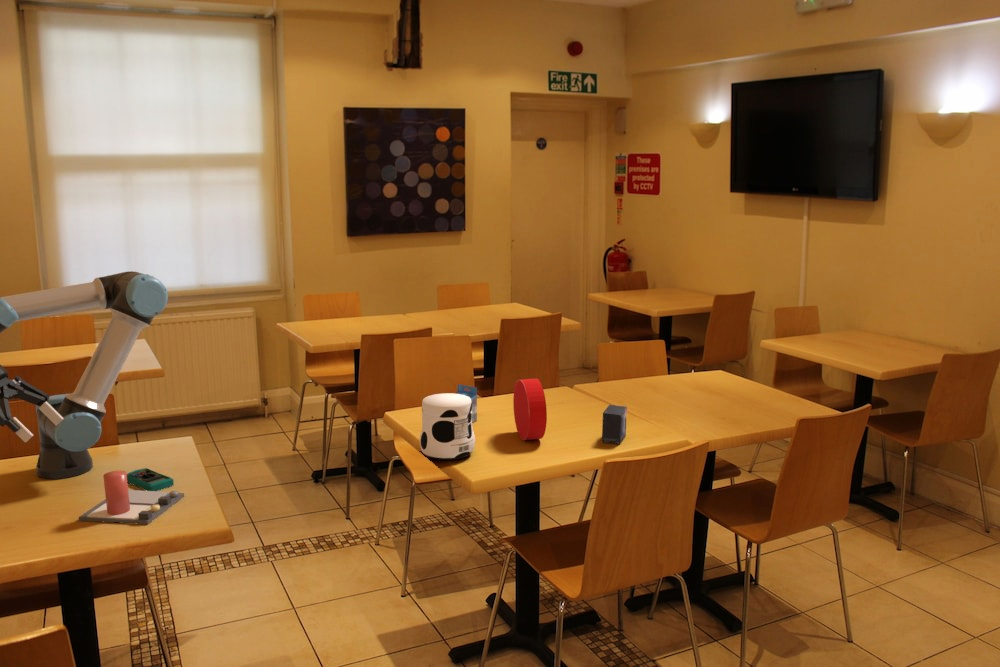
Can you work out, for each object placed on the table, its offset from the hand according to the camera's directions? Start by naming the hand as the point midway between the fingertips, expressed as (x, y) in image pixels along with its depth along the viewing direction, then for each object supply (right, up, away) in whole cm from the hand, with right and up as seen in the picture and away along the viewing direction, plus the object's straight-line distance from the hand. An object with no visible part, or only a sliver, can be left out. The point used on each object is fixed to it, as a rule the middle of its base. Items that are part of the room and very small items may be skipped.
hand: (45, 430), depth 229 cm
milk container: (+103, -13, +45) cm, 113 cm away
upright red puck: (+130, -9, +61) cm, 143 cm away
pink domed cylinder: (+20, -21, -2) cm, 29 cm away
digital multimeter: (+19, -18, +21) cm, 34 cm away
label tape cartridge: (+107, -6, +81) cm, 134 cm away
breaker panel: (+22, -21, +3) cm, 31 cm away
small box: (+158, -10, +59) cm, 169 cm away
